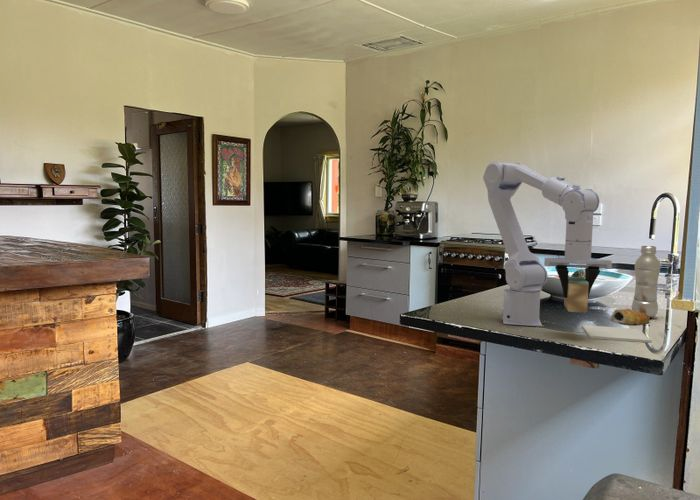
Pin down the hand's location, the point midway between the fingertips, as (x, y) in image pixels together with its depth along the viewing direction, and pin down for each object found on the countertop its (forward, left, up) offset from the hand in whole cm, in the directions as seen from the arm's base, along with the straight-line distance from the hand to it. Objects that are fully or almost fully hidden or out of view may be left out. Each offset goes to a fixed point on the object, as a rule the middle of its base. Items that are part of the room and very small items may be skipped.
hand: (575, 297), depth 123 cm
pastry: (+17, +20, -10) cm, 28 cm away
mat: (+10, +4, -9) cm, 14 cm away
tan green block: (0, 0, -3) cm, 3 cm away
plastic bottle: (+22, +28, -10) cm, 37 cm away
